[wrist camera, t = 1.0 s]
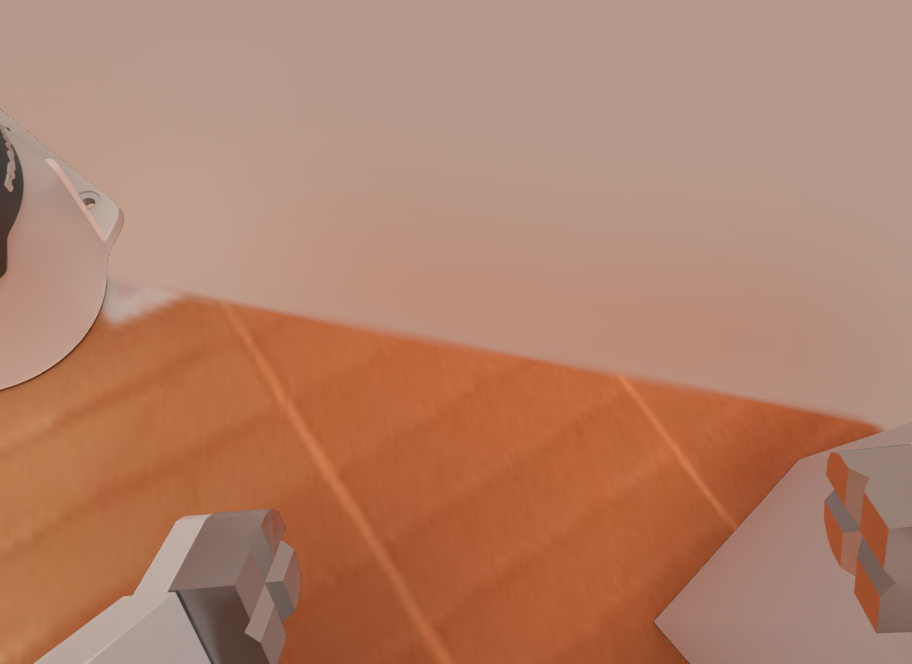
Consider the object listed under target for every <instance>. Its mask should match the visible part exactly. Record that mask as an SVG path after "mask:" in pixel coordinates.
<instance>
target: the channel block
mask: <svg viewBox="0 0 912 664" xmlns="http://www.w3.org/2000/svg"><path fill="white" fill-rule="evenodd" d="M908 443H912V422H911V423H908V424H905V425H902V426H899V427H896V428H893V429H890V430H887V431H884V432H881V433H878V434H875V435H872V436H869V437H866V438H863V439H860V440H857V441H854V442H851V443H848V444H845V445H842V446H839V447H836V448H833V449H830V450H827V451H824V452H821V453H818V454H815V455H812V456H809V457H805V458H802V459H799V460H798V461H797V462H796V463H795V465H794V466H793V467H792V468H791V469H790V470H789V471H788V472H787V473H786V475H785V476H784V477H783V478H782V479H781V480H780V481H779V482H778V483H777V485H776V486H775V487H774V488H773V489H772V490H771V491H770V492H769V493H768V495H767V496H766V497H765V498H764V499H763V500H762V501H761V502H760V504H759V505H758V506H757V507H756V508H755V509H754V510H753V511H752V512H751V514H750V515H749V516H748V517H747V518H746V519H745V520H744V521H743V522H742V524H741V525H740V526H739V527H738V528H737V529H736V530H735V531H734V532H733V534H732V535H731V536H730V537H729V538H728V539H727V540H726V541H725V543H724V544H723V545H722V546H721V547H720V548H719V549H718V550H717V551H716V553H715V554H714V555H713V556H712V557H711V558H710V559H709V560H708V561H707V563H706V564H705V565H704V566H703V567H702V568H701V569H700V570H699V571H698V573H697V574H696V575H695V576H694V577H693V578H692V579H691V580H690V582H689V583H688V584H687V585H686V586H685V587H684V588H683V589H682V590H681V592H680V593H679V594H678V595H677V596H676V597H675V598H674V599H673V600H672V602H671V603H670V604H669V605H668V606H667V607H666V608H665V609H664V610H663V612H662V613H661V614H660V615H659V616H658V617H657V618H656V619H655V621H654V623H655V624H656V625H657V627H658V628H659V629H660V630H661V631H662V632H663V633H664V635H665V636H666V637H667V638H668V639H669V640H670V642H671V643H672V644H673V645H674V646H675V647H676V648H677V650H678V651H679V652H680V653H681V654H682V655H683V657H684V658H685V659H686V660H687V661H688V662H689V664H912V632H901V633H877V634H876V632H875V630H874V628H873V626H872V625H871V623H870V621H869V619H868V617H867V616H866V614H865V612H864V610H863V608H862V606H861V605H860V603H859V601H858V599H857V597H856V596H855V594H854V588H855V576H853V575H852V574H850V573H849V572H847V571H845V570H844V569H842V568H841V567H840V566H839V564H838V562H837V560H836V558H835V556H834V554H833V552H832V549H831V547H830V544H829V541H828V538H827V533H826V527H825V522H824V500H825V499H826V498H827V497H828V496H829V495H830V494H831V492H832V491H833V490H834V488H833V486H832V484H831V483H830V481H829V479H828V478H827V476H826V470H827V460H828V458H829V455H830V453H831V452H837V451H846V450H856V449H865V448H874V447H884V446H893V445H902V444H908Z"/></svg>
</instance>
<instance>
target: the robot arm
mask: <svg viewBox="0 0 912 664" xmlns="http://www.w3.org/2000/svg"><path fill="white" fill-rule="evenodd" d="M90 203H94V204H95V206H94V207H93V208H91V209H87V207H86V205H88V204H90ZM123 222H124V216H123V213H122V211H121V210H120V208H119V207H118V206H117V204H116V203H115V202H114V201H113V200H112V199H110V198H109V197H108V196H107V195H105V194H104V193H103V192H102V191H101V190H99V189H98V188H97V187H96V186H94V185H93V184H92V183H91V182H89V181H88V180H87V179H86V178H84V177H83V176H82V175H81V174H79V173H78V172H77V171H76V170H75V169H73V168H72V167H71V166H70V165H68V164H67V163H66V162H65V161H64V160H62V159H61V158H60V157H59V156H57V155H56V154H55V153H54V152H52V151H51V150H50V149H49V148H47V147H46V146H45V145H44V144H43V143H41V142H40V141H39V140H38V139H36V138H35V137H34V136H33V135H31V134H30V133H29V132H28V131H26V130H25V129H24V128H23V127H21V126H20V125H19V124H18V123H17V122H15V121H14V120H13V119H12V118H10V117H9V116H8V115H7V114H6V113H4V112H3V111H2V110H1V109H0V390H1V389H4V388H8V387H11V386H14V385H17V384H19V383H22V382H24V381H26V380H29V379H31V378H33V377H35V376H37V375H39V374H41V373H42V372H44V371H46V370H47V369H49V368H50V367H52V366H53V365H55V364H56V363H57V362H59V361H60V360H61V359H63V358H64V357H65V356H66V355H67V354H68V353H70V352H71V351H72V350H73V349H74V348H75V347H76V346H77V344H78V343H79V342H80V341H81V340H82V339H83V337H84V336H85V335H86V333H87V332H88V331H89V329H90V328H91V326H92V324H93V323H94V321H95V319H96V317H97V315H98V313H99V311H100V308H101V305H102V302H103V299H104V295H105V290H106V283H107V262H108V256H109V251H110V250H111V248H112V246H113V245H114V243H115V241H116V239H117V237H118V235H119V233H120V231H121V229H122V226H123ZM826 476H827V478H828V479H829V481H830V483H831V484H832V486H833V488H834V490H833V491H832V492H831V494H830V495H829V496H828V497H827V498H826V499H825V500H824V522H825V527H826V533H827V538H828V541H829V544H830V547H831V549H832V552H833V554H834V556H835V558H836V560H837V562H838V564H839V566H840V567H841V568H842V569H844V570H845V571H847V572H849V573H850V574H852V575H853V576H855V588H854V594H855V596H856V597H857V599H858V601H859V603H860V605H861V606H862V608H863V610H864V612H865V614H866V616H867V617H868V619H869V621H870V623H871V625H872V626H873V628H874V630H875V632H876V634H877V633H901V632H912V443H908V444H902V445H893V446H884V447H874V448H865V449H856V450H846V451H837V452H831V453H830V455H829V458H828V460H827V470H826ZM285 529H286V527H285V525H284V522H283V520H282V518H281V515H280V513H279V512H278V511H276V510H274V509H261V510H248V511H236V512H223V513H214V514H203V515H191V516H184V517H182V518H181V519H179V520H177V521H176V523H175V524H174V526H173V528H172V529H171V531H170V533H169V535H168V536H167V538H166V540H165V541H164V543H163V545H162V546H161V548H160V550H159V551H158V553H157V555H156V557H155V558H154V560H153V562H152V563H151V565H150V567H149V568H148V570H147V572H146V573H145V575H144V577H143V579H142V580H141V582H140V584H139V585H138V587H137V589H136V590H135V592H134V594H133V595H132V596H123V597H122V598H120V599H119V600H118V601H116V602H115V603H114V604H112V605H111V606H110V607H108V608H107V609H106V610H104V611H103V612H102V613H100V614H99V615H98V616H96V617H95V618H94V619H92V620H91V621H90V622H88V623H87V624H86V625H84V626H83V627H82V628H80V629H79V630H78V631H76V632H75V633H74V634H72V635H71V636H70V637H68V638H67V639H66V640H64V641H63V642H61V643H60V644H59V645H57V646H56V647H55V648H53V649H52V650H51V651H49V652H48V653H47V654H45V655H44V656H43V657H41V658H40V659H39V660H37V661H36V662H35V663H33V664H278V661H279V658H280V655H281V652H282V649H283V646H284V643H285V640H286V637H287V634H286V632H285V630H284V627H283V625H282V623H283V622H284V621H285V620H286V619H287V618H288V617H289V616H290V615H291V614H292V613H293V612H294V611H295V609H296V606H297V602H298V599H299V596H300V582H301V574H300V567H299V561H298V559H297V556H296V553H295V550H294V549H293V548H292V547H290V546H289V545H288V544H286V543H285V542H284V541H282V537H283V534H284V532H285Z"/></svg>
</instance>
